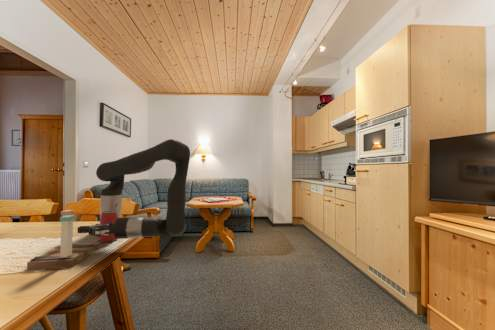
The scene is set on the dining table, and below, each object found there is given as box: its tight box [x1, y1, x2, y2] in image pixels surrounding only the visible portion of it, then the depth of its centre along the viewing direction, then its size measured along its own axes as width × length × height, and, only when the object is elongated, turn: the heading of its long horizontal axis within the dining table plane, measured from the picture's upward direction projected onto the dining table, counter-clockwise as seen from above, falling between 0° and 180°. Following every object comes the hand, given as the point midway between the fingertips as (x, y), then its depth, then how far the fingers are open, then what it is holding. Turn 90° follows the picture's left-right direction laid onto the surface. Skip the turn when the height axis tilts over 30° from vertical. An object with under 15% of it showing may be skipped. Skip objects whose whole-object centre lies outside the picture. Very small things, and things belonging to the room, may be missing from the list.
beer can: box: [99, 211, 118, 243], centre depth 101 cm, size 7×7×12 cm
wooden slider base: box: [26, 242, 99, 271], centre depth 80 cm, size 18×12×2 cm, turn 11°
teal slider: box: [59, 214, 76, 258], centre depth 74 cm, size 4×2×12 cm, turn 11°
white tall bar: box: [60, 209, 75, 217], centre depth 85 cm, size 4×2×12 cm, turn 11°
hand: (78, 229), depth 86 cm, fingers closed
